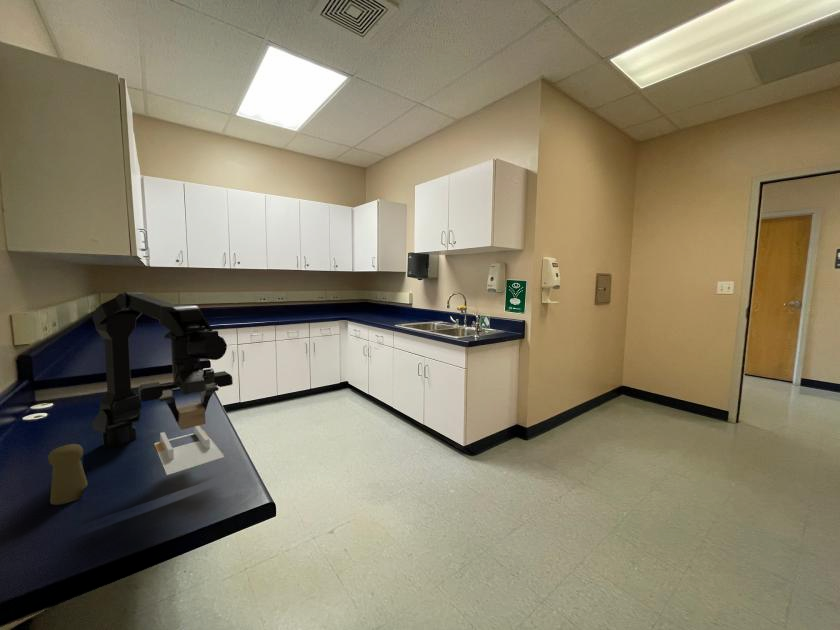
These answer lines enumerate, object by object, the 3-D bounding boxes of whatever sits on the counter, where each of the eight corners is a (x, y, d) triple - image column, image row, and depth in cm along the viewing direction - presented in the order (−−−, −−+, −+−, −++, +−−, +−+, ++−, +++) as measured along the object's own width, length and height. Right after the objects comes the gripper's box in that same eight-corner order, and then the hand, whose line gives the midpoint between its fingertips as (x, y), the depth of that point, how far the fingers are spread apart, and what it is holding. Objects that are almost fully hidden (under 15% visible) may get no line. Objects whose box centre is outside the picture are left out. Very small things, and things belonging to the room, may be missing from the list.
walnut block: (176, 422, 86) (175, 407, 86) (200, 417, 89) (199, 402, 89) (181, 429, 82) (180, 413, 81) (205, 423, 85) (204, 408, 85)
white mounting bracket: (154, 448, 96) (153, 434, 95) (204, 435, 104) (203, 422, 103) (167, 481, 80) (166, 464, 79) (225, 462, 88) (224, 447, 88)
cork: (54, 508, 70) (48, 456, 69) (46, 498, 74) (40, 449, 72) (93, 492, 75) (89, 444, 74) (84, 484, 79) (79, 438, 78)
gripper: (140, 369, 72) (146, 441, 74) (237, 356, 85) (240, 417, 87) (135, 361, 80) (141, 425, 82) (224, 350, 93) (228, 406, 95)
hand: (190, 418), depth 86 cm, fingers closed on walnut block, 5 cm apart
